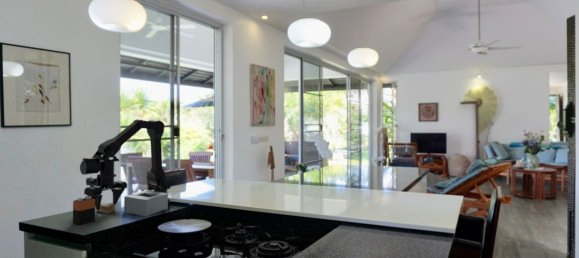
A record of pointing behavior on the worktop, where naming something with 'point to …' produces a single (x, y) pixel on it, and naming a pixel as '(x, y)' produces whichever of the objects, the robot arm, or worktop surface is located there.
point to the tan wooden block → (107, 207)
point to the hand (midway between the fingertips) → (106, 207)
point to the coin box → (145, 203)
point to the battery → (84, 210)
